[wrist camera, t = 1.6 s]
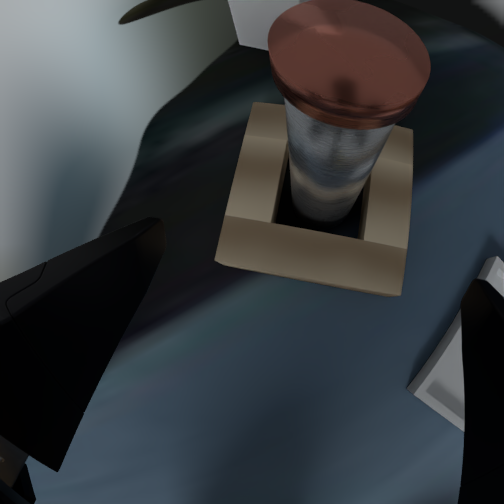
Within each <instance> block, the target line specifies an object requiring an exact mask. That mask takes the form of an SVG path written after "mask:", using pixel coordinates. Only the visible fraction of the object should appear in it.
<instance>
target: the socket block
mask: <svg viewBox="0 0 504 504" xmlns="http://www.w3.org/2000/svg"><path fill="white" fill-rule="evenodd" d="M288 157H289V148H288V135H287V122H286V110H285V105H279V104H270V103H260V102H253V106H252V110H251V113H250V117H249V121H248V125H247V129H246V132H245V136H244V140H243V144H242V148H241V152H240V156H239V160H238V164H237V168H236V172H235V176H234V180H233V184H232V188H231V192H230V196H229V201H228V205H227V209H226V213H225V217H224V222H223V226H222V230H221V235H220V239H219V243H218V248H217V252H216V257H215V261H217V262H219V263H221V264H223V265H225V266H230V267H235V268H240V269H245V270H250V271H255V272H260V273H265V274H270V275H275V276H280V277H285V278H291V279H296V280H301V281H306V282H311V283H317V284H322V285H327V286H332V287H338V288H343V289H349V290H354V291H359V292H365V293H370V294H376V295H381V296H387V297H392V296H401V290H402V284H403V277H404V270H405V262H406V254H407V246H408V236H409V226H410V213H411V198H412V177H413V130H411V129H407V128H404V127H400V126H396V125H394V127H393V129H392V131H391V133H390V135H389V137H388V139H387V141H386V143H385V145H384V147H383V149H382V151H381V153H380V155H379V157H378V159H377V161H376V163H375V165H374V167H373V169H372V171H371V173H370V175H369V176H368V178H367V180H366V182H365V184H364V190H363V199H362V207H361V215H360V223H359V230H358V238H357V239H355V238H350V237H345V236H340V235H334V234H329V233H324V232H319V231H313V230H308V229H302V228H297V227H291V226H286V225H280V224H275V223H276V218H277V213H278V208H279V203H280V198H281V193H282V188H283V183H284V177H285V172H286V167H287V162H288Z"/></svg>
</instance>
